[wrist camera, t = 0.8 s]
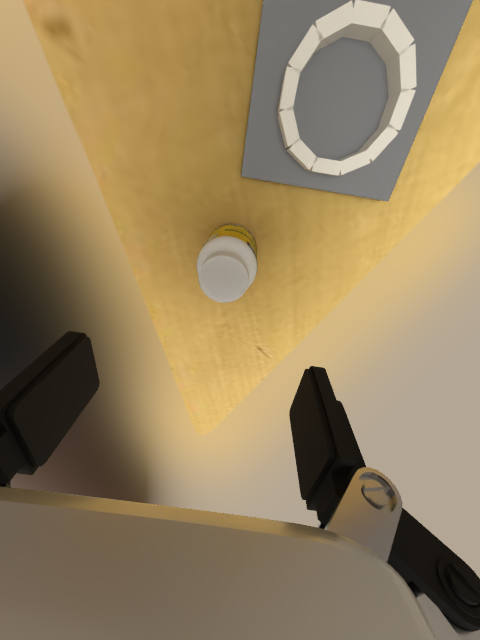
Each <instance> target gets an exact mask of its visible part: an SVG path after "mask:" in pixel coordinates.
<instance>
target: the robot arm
mask: <svg viewBox="0 0 480 640" xmlns="http://www.w3.org/2000/svg"><path fill="white" fill-rule="evenodd" d="M98 387H99V378H98V373H97V368H96V364H95V360H94V354H93V350H92V345H91V341H90V338H89V337H87V336H86V334H85V333H80V332H72V331H70V332H67V333H66V334H65V335H63V336H62V337H61V338H60V339H59V340H58V341H56V342H55V343H54V344H53V345H52V346H51V347H50V348H48V349H47V350H46V351H45V352H44V353H43V354H41V355H40V356H39V357H38V358H37V359H36V360H35V361H33V362H32V363H31V364H30V365H29V366H28V367H26V368H25V369H24V370H23V371H22V372H21V373H20V374H18V375H17V376H16V377H15V378H14V379H13V380H12V381H10V382H9V383H8V384H7V385H6V386H5V387H3V388H2V389H1V390H0V640H480V579H479V577H478V576H477V575H476V573H475V572H474V571H473V570H472V569H471V568H470V567H469V566H468V565H467V564H466V563H465V562H464V561H463V560H462V559H461V558H459V557H458V556H457V555H456V554H455V553H454V552H453V551H451V550H450V549H449V548H448V547H447V546H446V545H444V544H443V543H442V542H441V541H440V540H439V539H438V538H437V537H435V536H434V535H433V534H432V533H431V532H430V531H428V530H427V529H426V528H425V527H424V526H423V525H422V524H421V523H419V522H418V521H417V520H416V519H415V518H414V517H413V516H411V515H410V514H409V513H408V512H407V511H406V510H404V509H403V508H402V500H401V496H400V494H399V492H398V490H397V488H396V487H395V485H394V484H393V483H392V482H391V481H390V480H389V479H388V478H387V477H386V476H385V475H384V474H382V473H381V472H379V471H378V470H375V469H372V468H368V467H366V465H365V463H364V460H363V457H362V455H361V452H360V449H359V447H358V444H357V442H356V439H355V436H354V434H353V431H352V428H351V426H350V423H349V420H348V418H347V415H346V413H345V410H344V407H343V405H342V403H341V402H340V401H337V400H336V398H335V395H334V392H333V389H332V386H331V384H330V381H329V378H328V376H327V373H326V370H325V368H321V367H314V366H311V367H310V368H309V369H305V371H304V374H303V377H302V379H301V382H300V385H299V387H298V390H297V393H296V395H295V398H294V400H293V403H292V405H291V408H290V423H291V430H292V437H293V443H294V451H295V458H296V465H297V472H298V479H299V485H300V493H301V497H302V499H303V500H306V504H307V509H308V510H314V511H317V516H318V520H319V521H320V523H319V525H318V527H317V528H316V527H311V526H306V525H301V524H296V523H289V522H282V521H275V520H269V519H262V518H256V517H248V516H240V515H233V514H224V513H217V512H209V511H201V510H193V509H185V508H178V507H170V506H162V505H154V504H146V503H138V502H130V501H121V500H113V499H105V498H97V497H88V496H80V495H72V494H63V493H54V492H46V491H37V490H29V489H19V488H11V479H12V478H13V477H14V475H15V474H16V473H20V474H28V475H33V474H34V472H35V471H36V469H37V468H38V467H39V466H42V465H43V464H44V463H45V462H46V461H47V460H48V458H49V457H50V456H51V454H52V453H53V451H54V450H55V448H56V447H57V446H58V444H59V443H60V442H61V440H62V439H63V437H64V436H65V434H66V433H67V432H68V430H69V429H70V428H71V426H72V425H73V423H74V422H75V421H76V419H77V418H78V416H79V415H80V414H81V412H82V411H83V409H84V408H85V407H86V405H87V404H88V402H89V401H90V400H91V398H92V397H93V395H94V394H95V393H96V391H97V390H98Z"/></svg>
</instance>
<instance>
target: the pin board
mask: <svg viewBox="0 0 480 640" xmlns="http://www.w3.org/2000/svg"><path fill="white" fill-rule="evenodd" d="M472 1H473V0H263V7H262V15H261V23H260V31H259V39H258V47H257V55H256V63H255V70H254V78H253V86H252V94H251V102H250V110H249V118H248V126H247V133H246V141H245V149H244V157H243V165H242V173H241V177H247V178H253V179H259V180H265V181H271V182H276V183H282V184H288V185H294V186H300V187H306V188H312V189H318V190H324V191H330V192H336V193H342V194H347V195H353V196H359V197H365V198H371V199H377V200H383V201H389V199H390V196H391V194H392V191H393V189H394V187H395V184H396V182H397V180H398V177H399V175H400V172H401V170H402V168H403V165H404V163H405V160H406V158H407V156H408V153H409V151H410V149H411V146H412V144H413V141H414V139H415V137H416V134H417V132H418V130H419V127H420V125H421V122H422V120H423V118H424V115H425V113H426V110H427V108H428V106H429V103H430V101H431V99H432V96H433V94H434V91H435V89H436V87H437V84H438V82H439V80H440V77H441V75H442V72H443V70H444V68H445V65H446V63H447V61H448V58H449V56H450V53H451V51H452V49H453V46H454V44H455V41H456V39H457V37H458V34H459V32H460V30H461V27H462V25H463V22H464V20H465V18H466V15H467V13H468V11H469V8H470V6H471V3H472Z"/></svg>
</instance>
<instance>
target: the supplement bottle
mask: <svg viewBox="0 0 480 640" xmlns="http://www.w3.org/2000/svg"><path fill="white" fill-rule="evenodd" d="M197 272H198V276H199V284H200V287H201V289H202V291H203V292H204V293H205V294H206V295H207V296H208V297H209V298H211V299H212V300H214V301H217V302H223V303H227V302H232V301H235V300H237V299H239V298H240V297H241V296H242V295H243V294H244V293H245V291H246V289H248V288H249V286H250V285H251V284H252V282H253V281H254V279H255V276H256V272H257V247H256V242H255V239H254V237H253V235H252V234H251V232H250V231H249V230H248V229H247V228H245V227H244V226H241V225H239V224H233V223H230V224H225V225H222V226H220V227H219V228H217V229H216V230H215V231H214V232H213V233H212V235H211V236H210V237H209V239H208V240H207V242H206V243H205V245H204V246H203V248H202V249H201V251H200V253H199V256H198V259H197Z"/></svg>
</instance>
